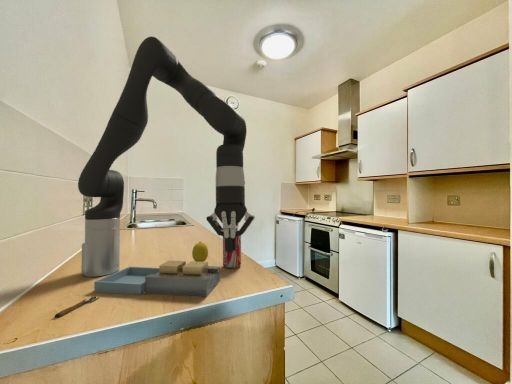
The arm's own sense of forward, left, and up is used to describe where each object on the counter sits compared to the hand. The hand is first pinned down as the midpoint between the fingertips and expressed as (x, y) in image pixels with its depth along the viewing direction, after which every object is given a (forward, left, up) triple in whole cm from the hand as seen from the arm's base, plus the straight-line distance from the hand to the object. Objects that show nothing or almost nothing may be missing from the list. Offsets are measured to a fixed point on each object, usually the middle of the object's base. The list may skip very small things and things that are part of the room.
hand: (231, 252), depth 55 cm
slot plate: (-13, 0, -10) cm, 16 cm away
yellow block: (-10, 0, -7) cm, 12 cm away
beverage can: (-5, +18, -10) cm, 21 cm away
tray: (-28, 0, -10) cm, 29 cm away
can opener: (-31, -13, -10) cm, 35 cm away
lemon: (-17, +19, -10) cm, 27 cm away
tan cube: (-16, 0, -7) cm, 17 cm away
